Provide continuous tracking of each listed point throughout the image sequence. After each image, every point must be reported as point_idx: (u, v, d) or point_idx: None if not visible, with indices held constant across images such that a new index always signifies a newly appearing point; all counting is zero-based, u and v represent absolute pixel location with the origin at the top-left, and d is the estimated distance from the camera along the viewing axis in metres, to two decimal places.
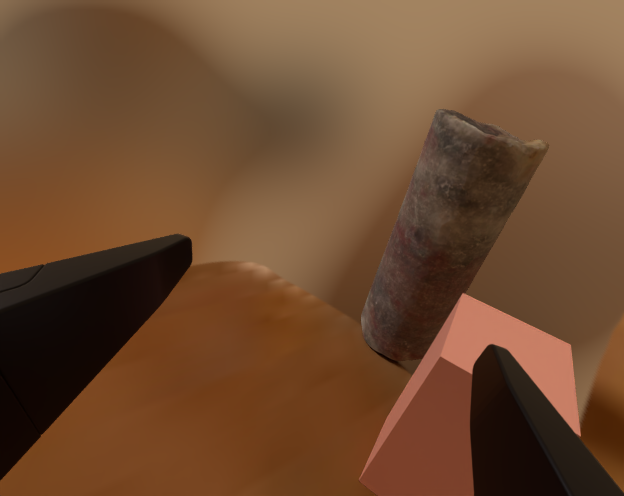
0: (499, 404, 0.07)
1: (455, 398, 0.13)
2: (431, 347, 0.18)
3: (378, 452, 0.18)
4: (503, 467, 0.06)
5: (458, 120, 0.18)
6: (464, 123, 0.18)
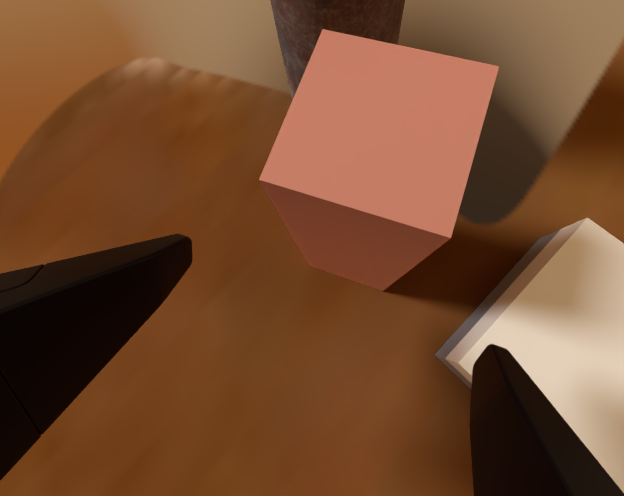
0: (499, 404, 0.07)
1: (312, 215, 0.10)
2: None
3: (302, 252, 0.17)
4: (503, 467, 0.06)
5: None
6: None
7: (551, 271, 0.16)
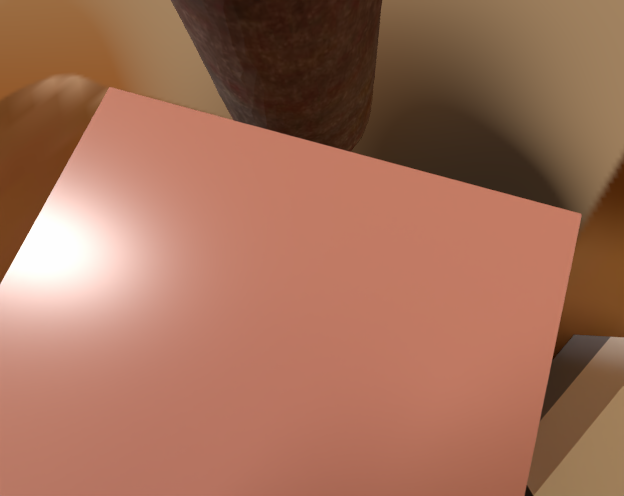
0: None
1: None
2: None
3: None
4: None
5: None
6: None
7: (607, 429, 0.10)
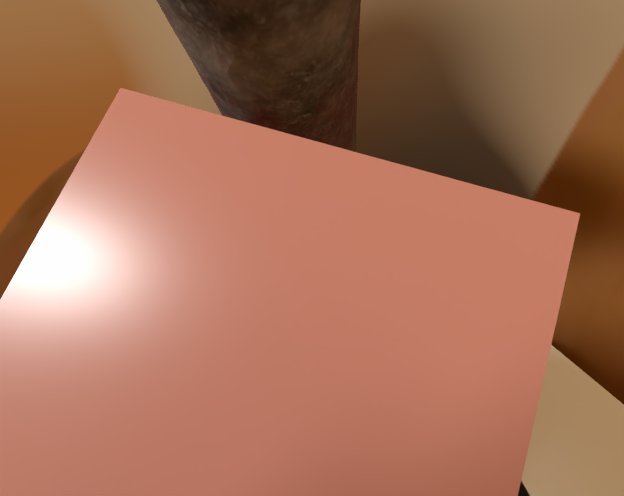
0: None
1: None
2: None
3: None
4: None
5: None
6: None
7: None
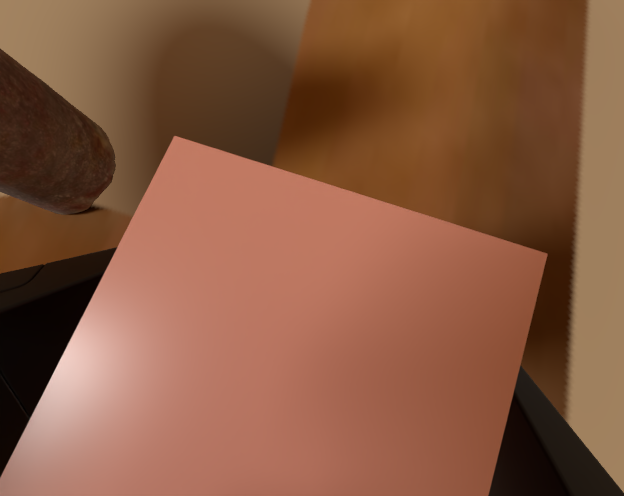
0: None
1: None
2: None
3: None
4: (503, 467, 0.06)
5: None
6: None
7: None
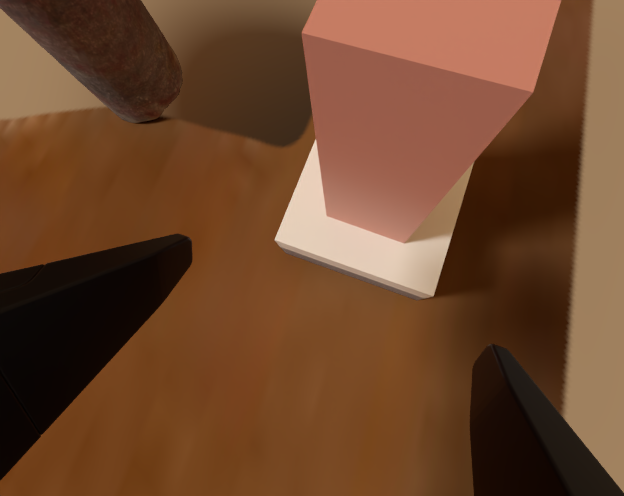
0: (499, 404, 0.07)
1: (354, 99, 0.08)
2: None
3: (324, 189, 0.16)
4: (503, 467, 0.06)
5: None
6: None
7: (317, 151, 0.21)
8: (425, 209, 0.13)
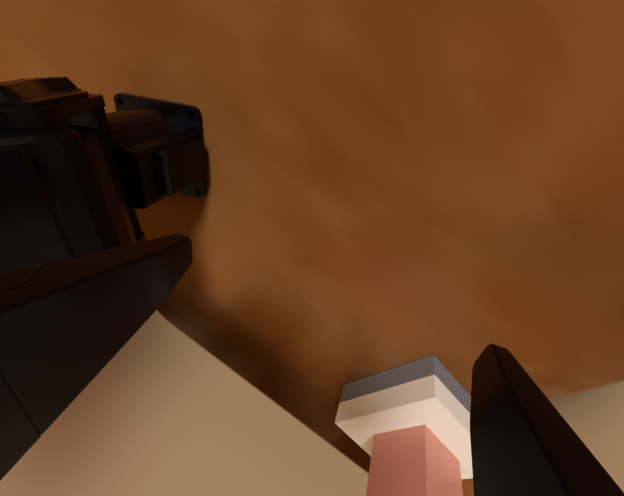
0: (499, 404, 0.07)
1: None
2: None
3: (425, 483, 0.21)
4: (503, 467, 0.06)
5: None
6: None
7: None
8: None
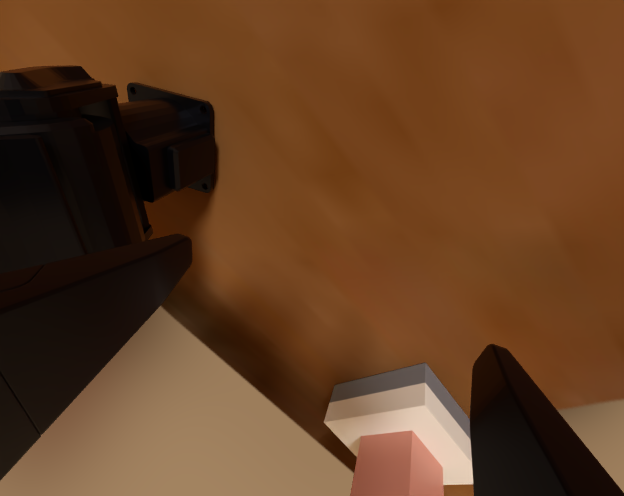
0: (499, 404, 0.07)
1: None
2: None
3: (408, 488, 0.22)
4: (503, 467, 0.06)
5: None
6: None
7: (462, 458, 0.25)
8: None
